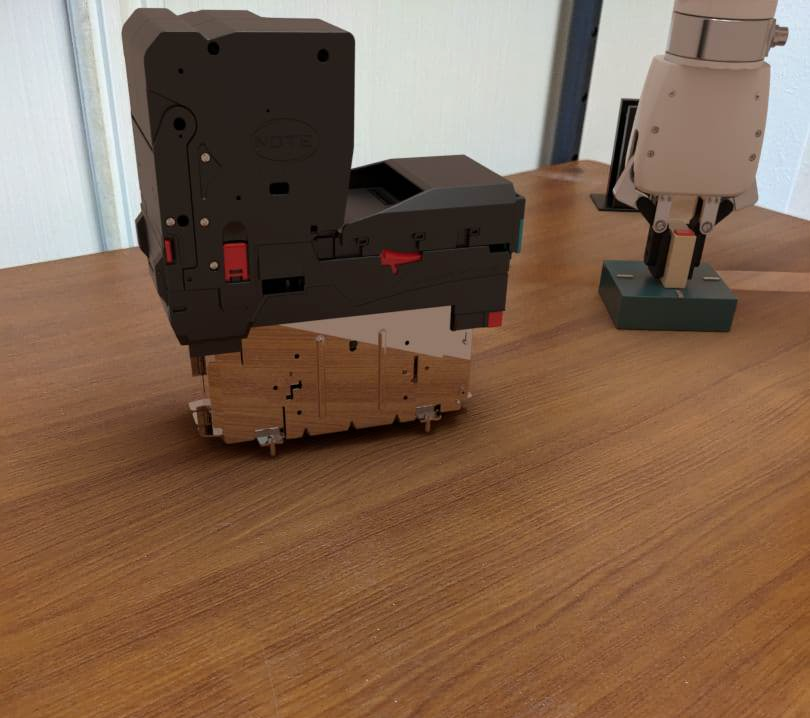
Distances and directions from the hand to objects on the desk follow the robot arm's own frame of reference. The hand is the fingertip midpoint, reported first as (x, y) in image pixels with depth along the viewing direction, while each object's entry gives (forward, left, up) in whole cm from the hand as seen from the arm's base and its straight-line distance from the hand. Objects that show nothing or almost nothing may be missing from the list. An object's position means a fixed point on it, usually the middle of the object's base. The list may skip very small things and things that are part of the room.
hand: (669, 272), depth 82 cm
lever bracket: (-3, -30, -4) cm, 30 cm away
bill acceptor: (+29, +21, -4) cm, 36 cm away
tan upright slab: (0, 0, 0) cm, 0 cm away
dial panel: (0, 0, -4) cm, 4 cm away
